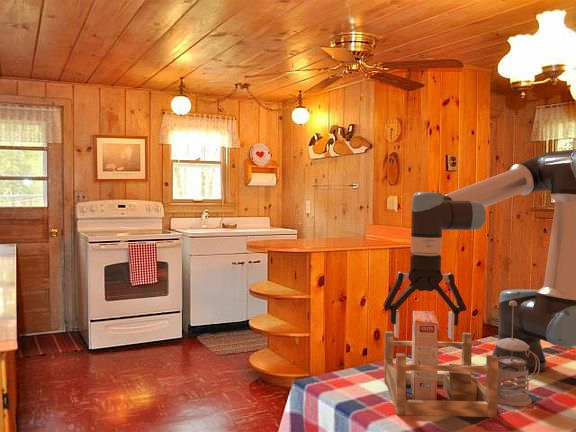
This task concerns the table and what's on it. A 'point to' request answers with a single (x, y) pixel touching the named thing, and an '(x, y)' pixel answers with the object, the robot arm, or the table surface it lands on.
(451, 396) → the offcut
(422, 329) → the cracker box
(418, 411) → the rack
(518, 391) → the french press
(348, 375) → the table surface
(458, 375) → the offcut
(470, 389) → the offcut
